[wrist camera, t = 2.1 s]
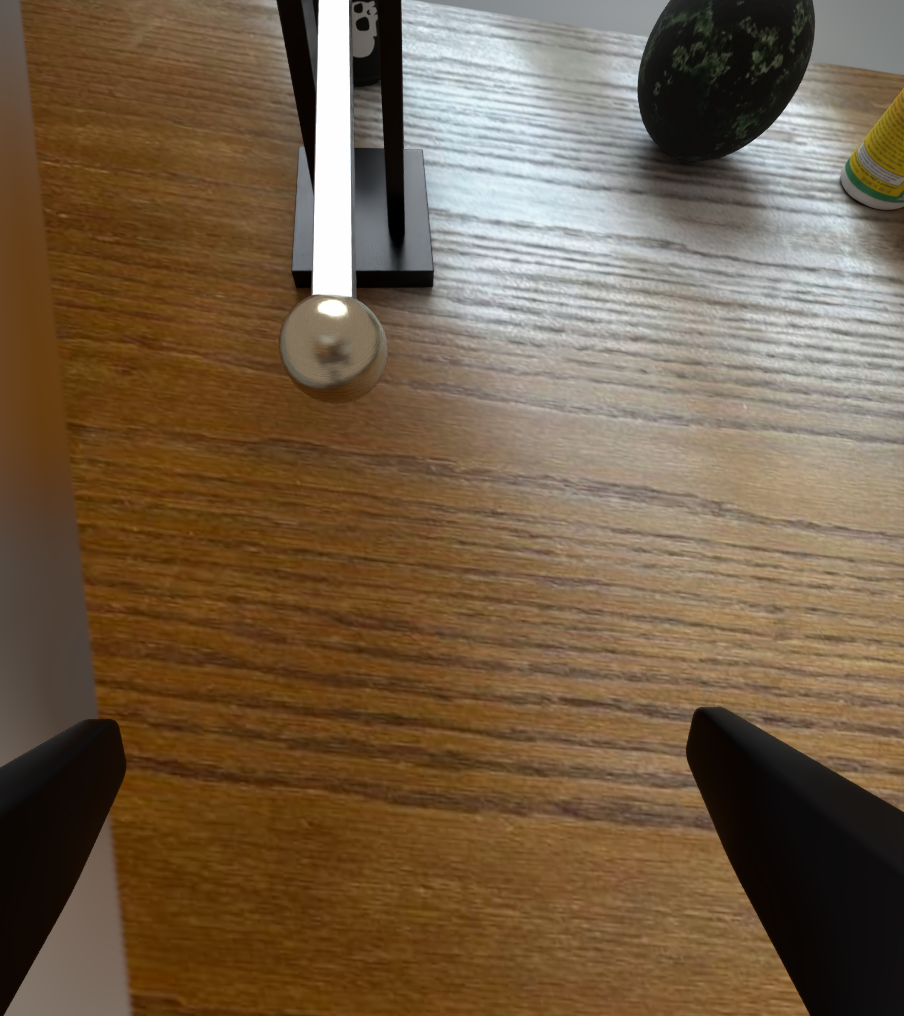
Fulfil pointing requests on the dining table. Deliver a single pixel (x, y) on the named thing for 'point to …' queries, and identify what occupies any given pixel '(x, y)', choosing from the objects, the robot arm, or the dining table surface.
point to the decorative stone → (721, 72)
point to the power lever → (333, 241)
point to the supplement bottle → (879, 162)
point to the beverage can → (363, 41)
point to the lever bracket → (363, 164)
